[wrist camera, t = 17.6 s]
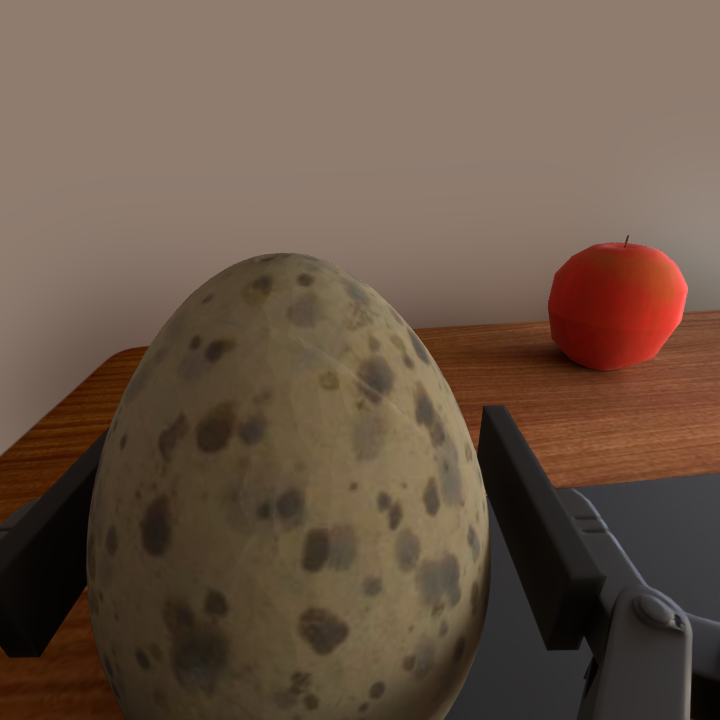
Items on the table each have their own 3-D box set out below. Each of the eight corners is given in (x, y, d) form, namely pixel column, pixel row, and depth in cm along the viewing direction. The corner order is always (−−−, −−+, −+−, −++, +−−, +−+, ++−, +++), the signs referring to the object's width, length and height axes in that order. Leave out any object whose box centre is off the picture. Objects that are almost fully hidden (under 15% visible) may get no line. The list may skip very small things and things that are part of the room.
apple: (686, 371, 35) (738, 237, 30) (604, 395, 32) (646, 250, 27) (589, 332, 44) (616, 223, 38) (516, 348, 40) (535, 231, 35)
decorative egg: (497, 599, 17) (572, 231, 10) (386, 1044, 8) (390, 600, 2) (295, 507, 21) (255, 218, 15) (96, 730, 13) (-199, 295, 6)
